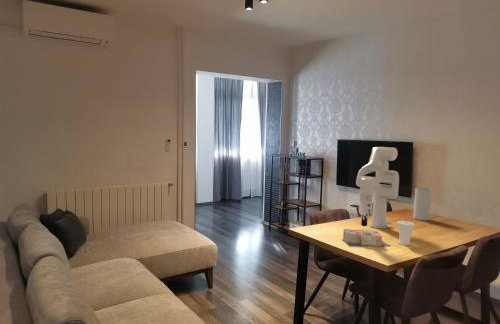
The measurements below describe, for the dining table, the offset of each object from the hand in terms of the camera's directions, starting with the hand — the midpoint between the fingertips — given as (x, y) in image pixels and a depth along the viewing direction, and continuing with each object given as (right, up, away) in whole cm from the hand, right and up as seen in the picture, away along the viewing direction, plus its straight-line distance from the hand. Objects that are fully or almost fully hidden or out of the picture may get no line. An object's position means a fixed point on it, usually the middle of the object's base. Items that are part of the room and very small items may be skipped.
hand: (364, 225), depth 234 cm
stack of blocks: (-1, -6, +4) cm, 8 cm away
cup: (+25, -11, -1) cm, 28 cm away
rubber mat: (0, -10, -3) cm, 11 cm away
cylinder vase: (+68, -6, +68) cm, 97 cm away
